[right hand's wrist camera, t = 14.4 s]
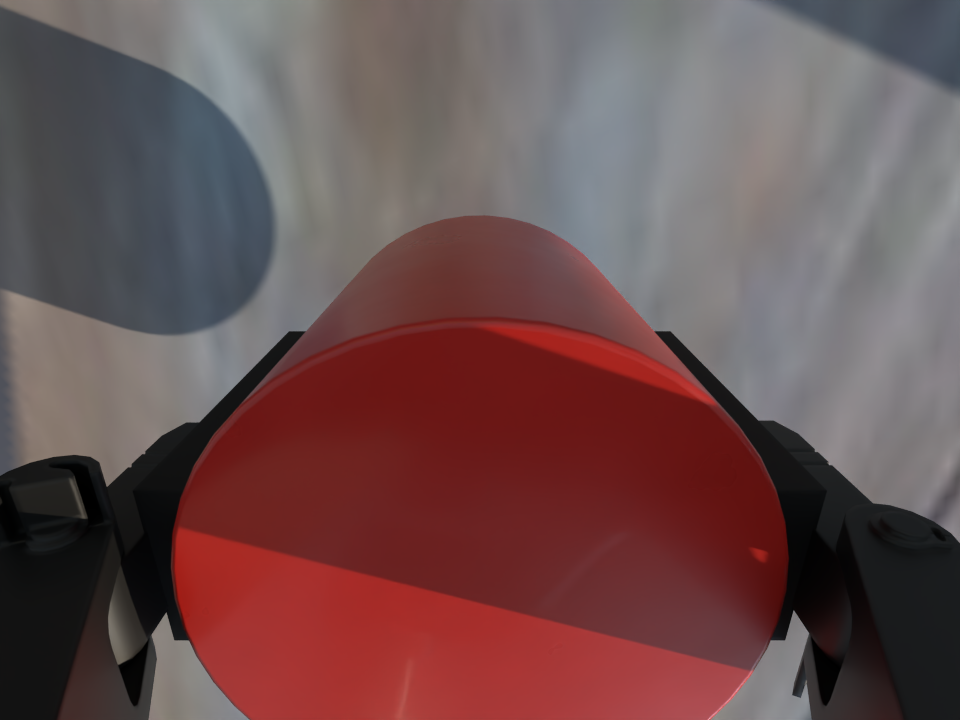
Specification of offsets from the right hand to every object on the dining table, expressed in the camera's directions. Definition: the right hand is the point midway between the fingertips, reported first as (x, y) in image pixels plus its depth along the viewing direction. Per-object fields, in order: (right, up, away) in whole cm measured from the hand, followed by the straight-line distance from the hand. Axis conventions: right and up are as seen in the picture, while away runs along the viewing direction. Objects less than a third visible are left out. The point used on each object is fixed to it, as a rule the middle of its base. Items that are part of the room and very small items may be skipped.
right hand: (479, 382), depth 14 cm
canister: (0, 0, +1) cm, 1 cm away
